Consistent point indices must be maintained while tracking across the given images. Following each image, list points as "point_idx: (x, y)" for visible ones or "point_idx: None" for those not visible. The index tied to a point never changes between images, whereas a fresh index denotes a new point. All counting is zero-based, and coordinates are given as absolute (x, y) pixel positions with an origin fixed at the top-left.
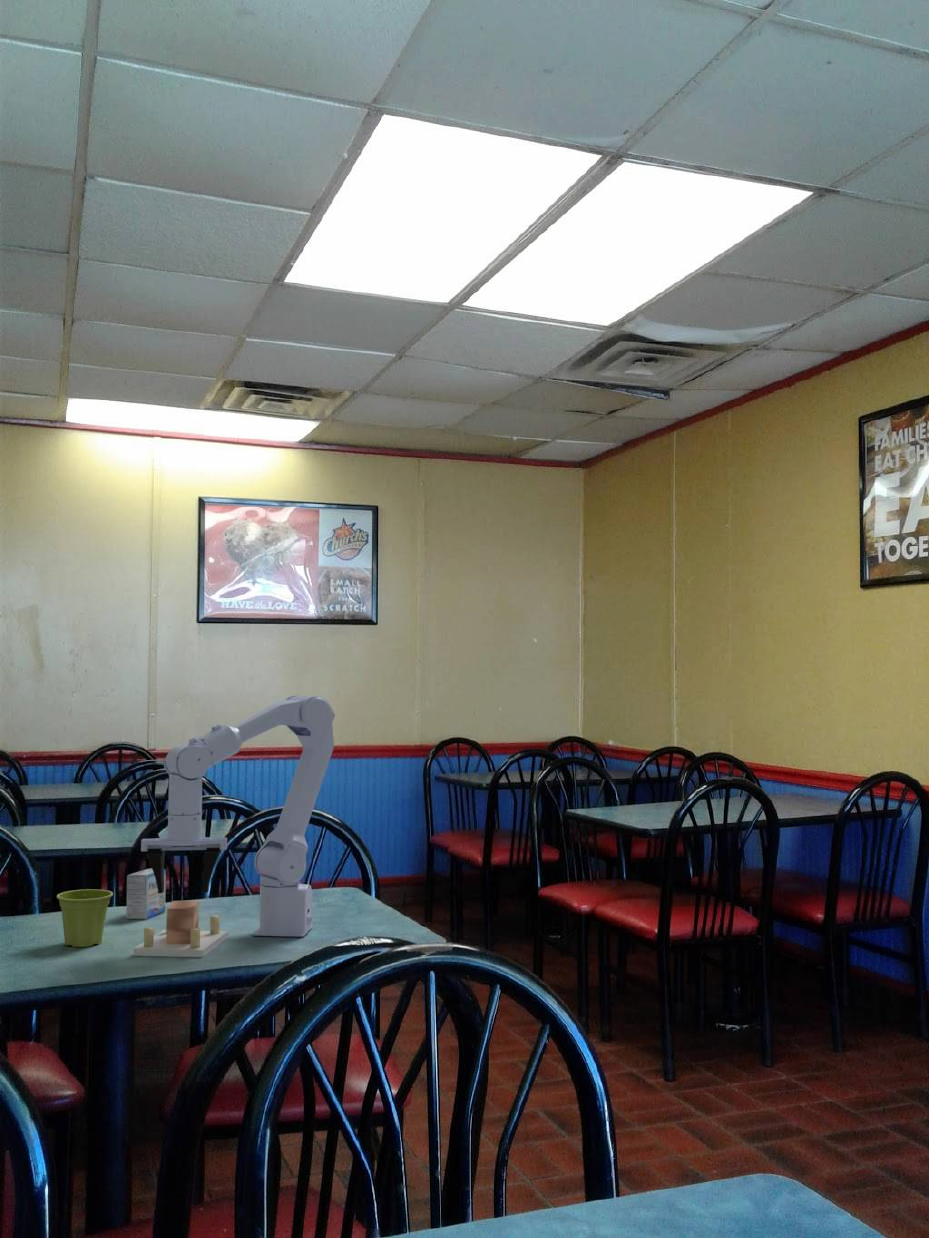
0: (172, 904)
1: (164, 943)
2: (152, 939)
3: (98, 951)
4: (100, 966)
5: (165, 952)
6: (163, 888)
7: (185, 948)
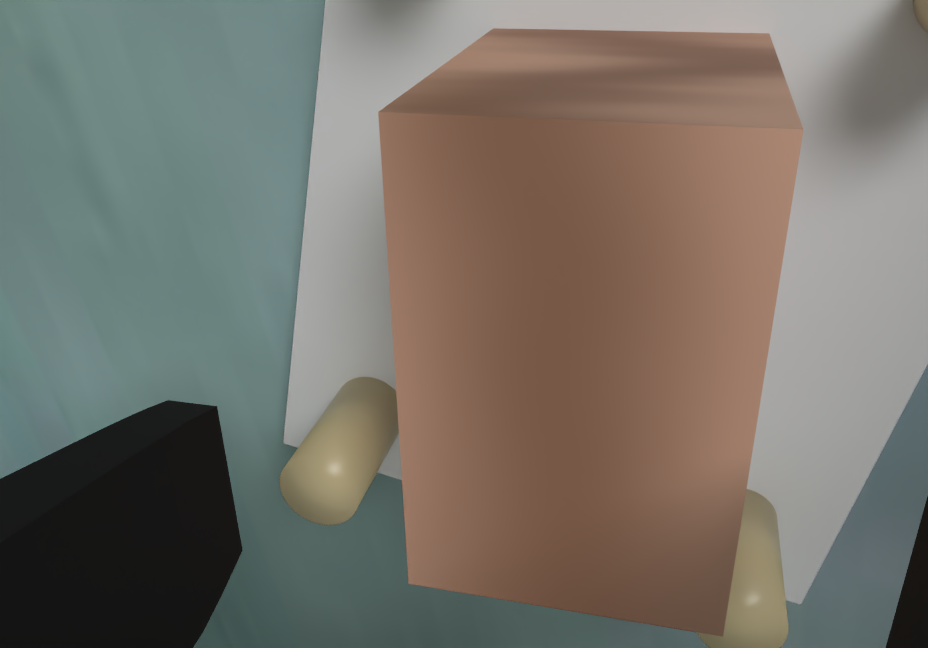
0: (421, 364)
1: None
2: (384, 458)
3: (40, 253)
4: None
5: None
6: (197, 477)
7: None
